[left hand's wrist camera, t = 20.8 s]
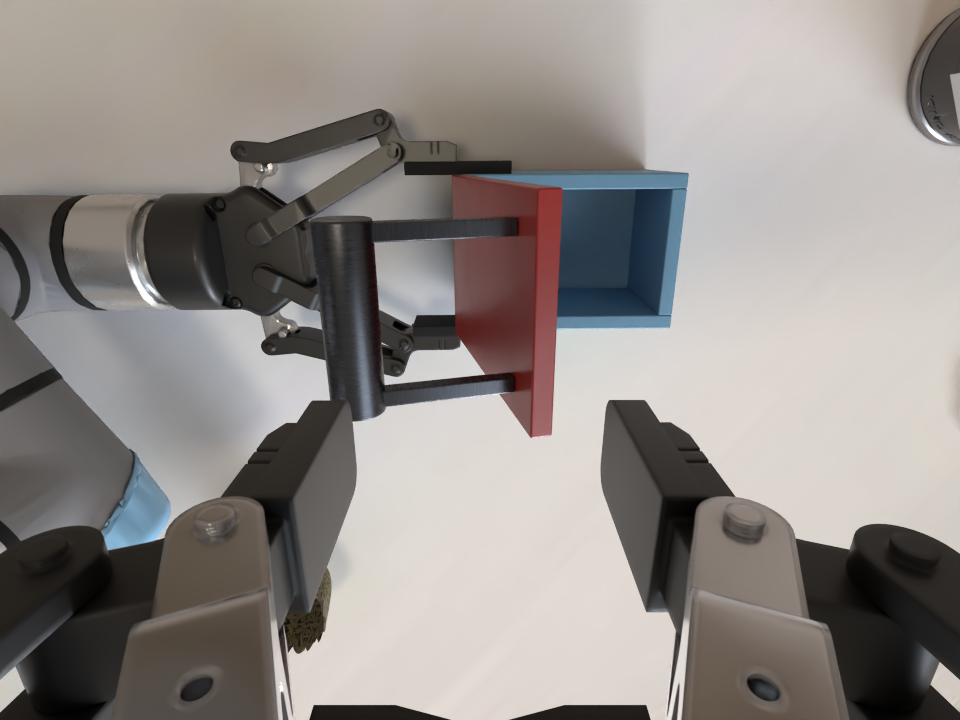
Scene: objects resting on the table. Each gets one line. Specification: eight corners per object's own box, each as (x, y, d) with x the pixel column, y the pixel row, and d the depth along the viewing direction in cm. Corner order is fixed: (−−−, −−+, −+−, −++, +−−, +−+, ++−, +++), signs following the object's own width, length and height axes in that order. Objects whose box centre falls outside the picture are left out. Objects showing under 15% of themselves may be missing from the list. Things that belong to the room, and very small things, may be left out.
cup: (358, 574, 53) (340, 642, 46) (292, 596, 54) (263, 666, 47) (323, 515, 51) (297, 577, 43) (254, 539, 52) (217, 604, 44)
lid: (563, 187, 19) (303, 193, 17) (552, 436, 22) (334, 465, 20) (467, 174, 32) (315, 177, 30) (469, 331, 35) (333, 343, 33)
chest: (646, 169, 40) (689, 172, 32) (633, 296, 44) (670, 328, 36) (462, 170, 40) (459, 174, 32) (464, 297, 44) (462, 330, 36)
